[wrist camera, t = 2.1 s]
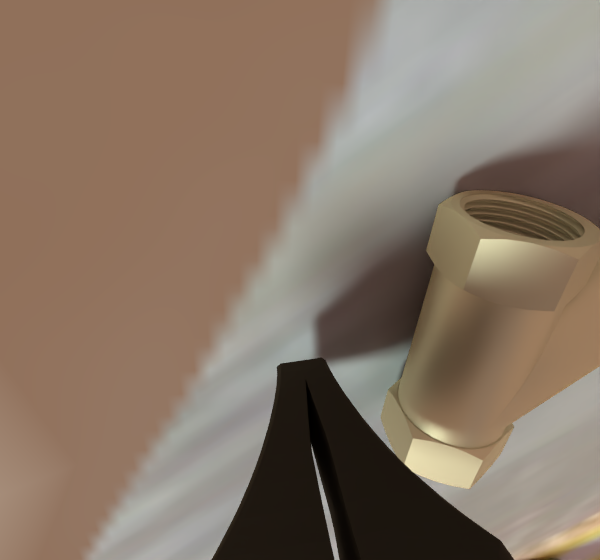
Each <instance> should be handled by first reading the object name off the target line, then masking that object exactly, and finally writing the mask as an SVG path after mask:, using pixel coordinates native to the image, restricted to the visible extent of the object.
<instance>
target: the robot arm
mask: <svg viewBox="0 0 600 560" xmlns="http://www.w3.org/2000/svg"><path fill="white" fill-rule="evenodd" d="M311 444H312V448H313V451H314V455H315V459H316V463H317V466H318V470H319V474H320V477H321V481H322V485H323V488H324V492H325V496H326V499H327V503H328V507H329V510H330V514H331V518H332V523H333V527H334V532H335V537H336V543H337V548H338V554H339V559H340V560H514V559H513V557H512V556H511V555H510V553H509V552H508V550H507V549H506V547H505V546H504V545H503V543H502V542H501V541H500V540H499V539H498V538H496V537H495V536H493V535H492V534H490V533H489V532H487V531H486V530H485V529H483V528H482V527H480V526H479V525H477V524H476V523H475V522H473V521H472V520H471V519H469V518H468V517H467V516H465V515H464V514H463V513H461V512H460V511H459V510H457V509H456V508H455V507H454V506H452V505H451V504H450V503H448V502H447V501H446V500H445V499H443V498H442V497H441V496H440V495H439V494H438V493H436V492H435V491H434V490H433V489H432V488H431V487H429V486H428V485H427V484H426V483H425V482H424V481H422V480H421V479H420V478H419V477H418V476H417V475H416V474H414V473H413V472H412V471H411V470H410V469H409V468H408V467H407V466H406V465H405V464H404V463H403V462H402V461H401V460H400V459H399V458H398V457H397V456H396V455H395V454H394V453H393V452H392V451H391V450H390V449H389V448H388V447H387V446H386V445H385V443H384V442H383V441H382V440H381V439H380V438H379V437H378V436H377V434H376V433H375V432H374V431H373V430H372V429H371V427H370V426H369V425H368V424H367V423H366V421H365V420H364V419H363V418H362V416H361V415H360V414H359V412H358V411H357V410H356V408H355V407H354V406H353V404H352V403H351V402H350V400H349V399H348V397H347V396H346V395H345V393H344V392H343V390H342V389H341V387H340V386H339V384H338V382H337V381H336V379H335V378H334V376H333V374H332V372H331V371H330V369H329V367H328V365H327V363H326V360H324V359H323V358H317V359H310V360H303V361H296V362H289V363H282V364H280V365H279V366H278V367H277V386H276V393H275V400H274V405H273V409H272V414H271V418H270V423H269V426H268V430H267V433H266V437H265V440H264V443H263V447H262V450H261V453H260V456H259V459H258V462H257V464H256V467H255V470H254V472H253V475H252V478H251V480H250V483H249V485H248V487H247V490H246V492H245V494H244V497H243V499H242V501H241V504H240V506H239V508H238V510H237V512H236V514H235V516H234V518H233V520H232V522H231V524H230V526H229V528H228V530H227V532H226V534H225V536H224V538H223V540H222V541H221V543H220V545H219V547H218V549H217V551H216V553H215V554H214V556H213V558H212V560H334V556H333V552H332V547H331V543H330V538H329V533H328V529H327V524H326V519H325V515H324V510H323V505H322V500H321V495H320V491H319V486H318V481H317V476H316V471H315V466H314V461H313V456H312V449H311Z"/></svg>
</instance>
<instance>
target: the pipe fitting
mask: <svg viewBox="0 0 600 560" xmlns="http://www.w3.org/2000/svg"><path fill="white" fill-rule="evenodd" d="M426 251H427V253H428V254H429V256H430V258H431V260H432V261H433V263H434V267H433V271H432V274H431V278H430V281H429V285H428V288H427V292H426V295H425V299H424V302H423V305H422V309H421V312H420V316H419V319H418V323H417V326H416V330H415V333H414V337H413V340H412V343H411V347H410V350H409V354H408V357H407V361H406V364H405V368H404V371H403V374H402V378H401V379H399V380H398V381H397V382H396V383H395V384H394V385H393V386H391V387H390V388H389V389H388V392H387V395H386V399H385V403H384V406H383V410H382V414H381V420H382V423H383V426H384V429H385V432H386V434H387V437H388V439H389V442H390V444H391V446H392V448H393V450H394V452H395V454H396V456H397V457H398V458H399V459H400V460H401V461H402V462H403V463H404V464H405V465H406V466H407V467H408V468H409V469H410V470H411V471H412V472H414V473H416V474H418V475H420V476H423V477H425V478H428V479H431V480H433V481H436V482H440V483H443V484H447V485H450V486H455V487H460V488H466V489H470V488H471V487H472V486H473V485H474V484H475V483H476V482H477V481H478V480H479V479H480V478H481V477H482V476H483V475H484V473H485V472H486V471H487V470H488V469H489V468H490V467H491V465H492V464H493V463H494V462H495V460H496V459H497V458H498V457H499V455H500V454H501V452H502V450H503V448H504V446H505V444H506V442H507V440H508V438H509V436H510V434H511V432H512V430H513V428H514V426H513V424H512V423H513V422H514V421H516V420H517V419H519V418H520V417H522V416H523V415H525V414H527V413H528V412H530V411H531V410H533V409H534V408H536V407H537V406H539V405H540V404H542V403H544V402H545V401H547V400H548V399H550V398H551V397H553V396H554V395H556V394H557V393H559V392H561V391H562V390H564V389H565V388H567V387H568V386H570V385H571V384H573V383H574V382H576V381H577V380H579V379H581V378H582V377H584V376H585V375H587V374H588V373H590V372H591V371H593V370H594V369H596V368H597V367H599V366H600V229H599V228H598V227H597V226H595V225H594V224H593V223H592V222H590V221H589V220H588V219H586V218H584V217H583V216H581V215H579V214H577V213H575V212H573V211H571V210H569V209H566V208H564V207H561V206H559V205H556V204H553V203H550V202H547V201H544V200H540V199H537V198H533V197H529V196H525V195H520V194H515V193H509V192H501V191H491V190H472V191H465V192H461V193H458V194H456V195H454V196H451V197H450V198H448V199H446V200H445V201H443V202H442V203H440V204H439V205H438V209H437V213H436V216H435V220H434V224H433V227H432V231H431V235H430V238H429V242H428V245H427V249H426Z"/></svg>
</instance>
